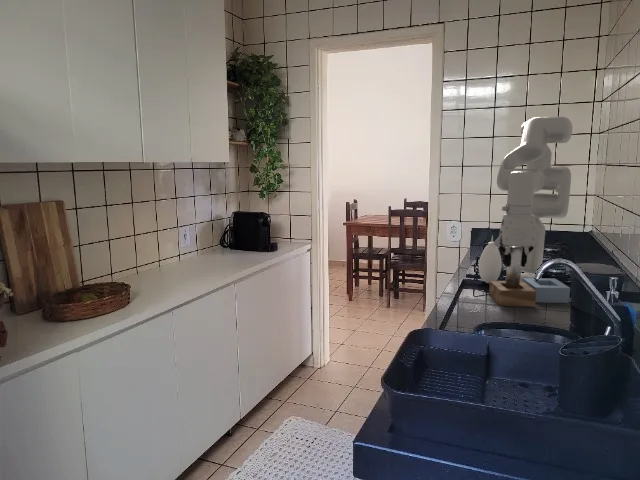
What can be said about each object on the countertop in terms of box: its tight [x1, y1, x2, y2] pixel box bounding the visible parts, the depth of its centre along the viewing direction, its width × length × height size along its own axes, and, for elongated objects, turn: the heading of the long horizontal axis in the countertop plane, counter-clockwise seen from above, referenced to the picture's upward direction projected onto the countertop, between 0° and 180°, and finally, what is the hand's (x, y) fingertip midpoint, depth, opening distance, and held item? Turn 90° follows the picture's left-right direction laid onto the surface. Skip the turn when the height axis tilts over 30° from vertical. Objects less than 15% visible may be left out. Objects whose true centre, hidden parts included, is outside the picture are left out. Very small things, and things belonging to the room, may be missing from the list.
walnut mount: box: [488, 280, 536, 307], centre depth 153 cm, size 11×11×5 cm
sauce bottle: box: [478, 235, 503, 285], centre depth 171 cm, size 8×8×18 cm
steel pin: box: [505, 246, 523, 285], centre depth 151 cm, size 4×4×12 cm
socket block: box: [522, 277, 571, 304], centre depth 156 cm, size 11×11×5 cm
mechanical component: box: [520, 272, 535, 281], centre depth 169 cm, size 10×4×10 cm
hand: (514, 265), depth 151 cm, fingers closed on steel pin, 4 cm apart
